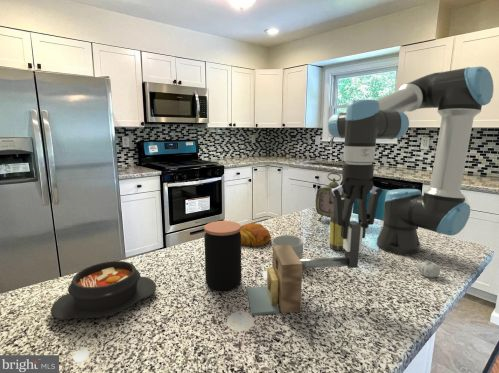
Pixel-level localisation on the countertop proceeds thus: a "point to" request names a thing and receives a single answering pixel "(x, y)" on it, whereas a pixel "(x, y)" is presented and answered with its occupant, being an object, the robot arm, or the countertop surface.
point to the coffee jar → (222, 255)
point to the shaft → (348, 260)
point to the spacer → (272, 286)
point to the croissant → (254, 235)
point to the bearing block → (288, 278)
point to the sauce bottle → (336, 232)
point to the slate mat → (260, 301)
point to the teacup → (290, 243)
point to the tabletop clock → (326, 198)
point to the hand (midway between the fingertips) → (351, 249)
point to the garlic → (429, 269)
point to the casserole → (103, 291)
